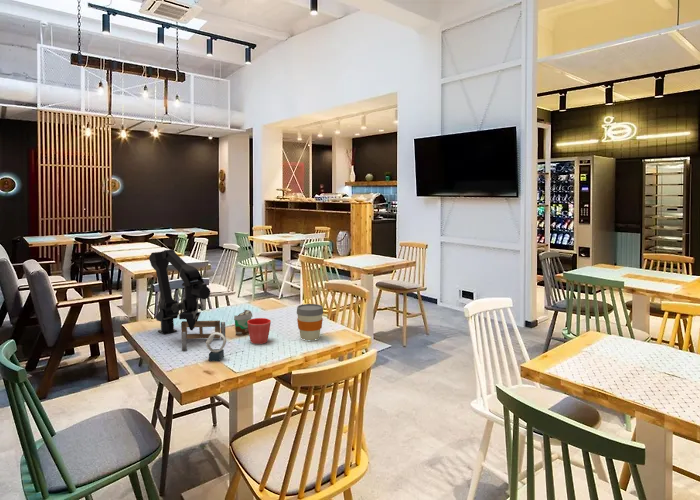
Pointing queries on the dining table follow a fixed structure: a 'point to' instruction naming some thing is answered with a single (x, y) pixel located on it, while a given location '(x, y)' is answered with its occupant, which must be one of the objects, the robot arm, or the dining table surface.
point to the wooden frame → (201, 329)
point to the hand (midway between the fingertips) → (192, 329)
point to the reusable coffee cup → (309, 321)
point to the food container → (242, 322)
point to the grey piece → (184, 341)
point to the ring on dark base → (215, 353)
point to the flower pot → (259, 330)
